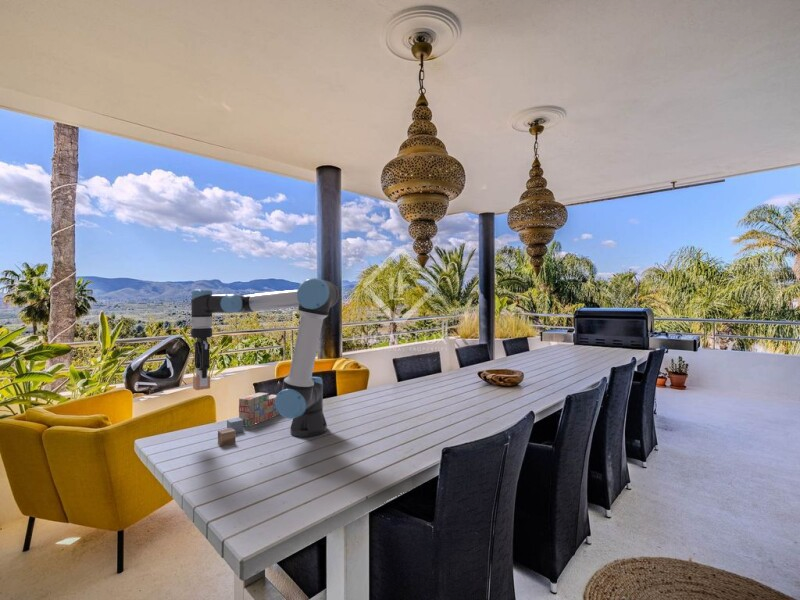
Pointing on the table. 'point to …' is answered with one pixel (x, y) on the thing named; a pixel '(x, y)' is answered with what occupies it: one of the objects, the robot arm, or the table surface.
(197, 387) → the terracotta cube
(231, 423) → the slate rectangular block
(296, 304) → the robot arm
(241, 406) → the stack of blocks
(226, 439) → the walnut cube
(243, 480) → the table surface
